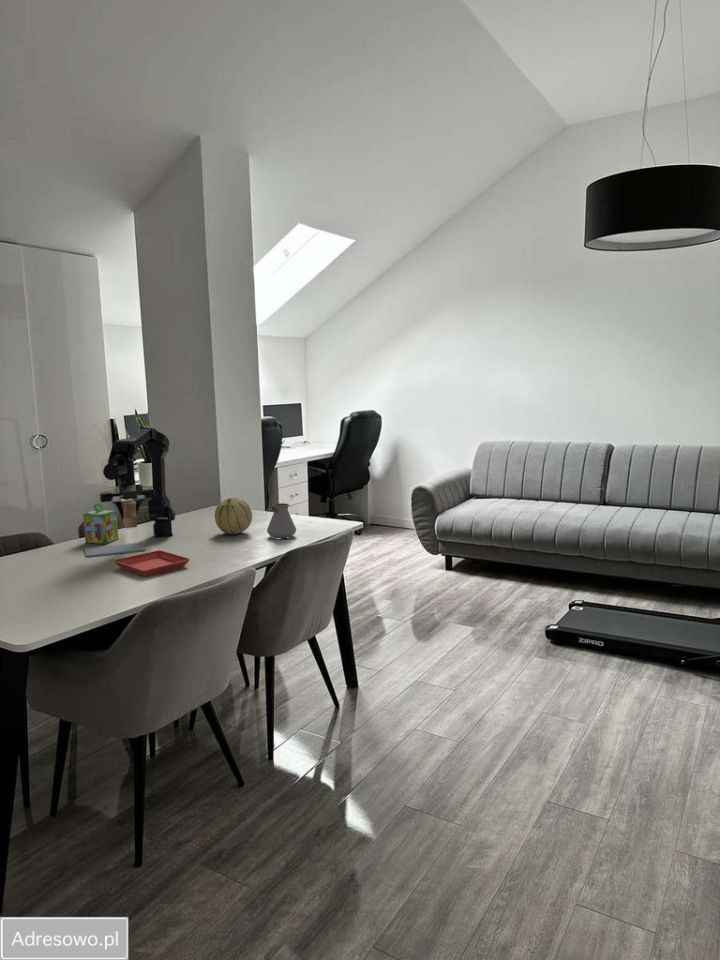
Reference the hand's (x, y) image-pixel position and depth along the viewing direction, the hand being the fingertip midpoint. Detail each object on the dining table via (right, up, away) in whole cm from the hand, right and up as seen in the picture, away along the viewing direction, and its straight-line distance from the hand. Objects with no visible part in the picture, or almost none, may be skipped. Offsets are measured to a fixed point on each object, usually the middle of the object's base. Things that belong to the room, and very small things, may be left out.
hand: (129, 518), depth 255 cm
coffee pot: (+52, -9, +18) cm, 56 cm away
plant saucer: (+14, -16, -20) cm, 29 cm away
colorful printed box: (-16, -10, +18) cm, 26 cm away
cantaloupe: (+33, -8, +29) cm, 44 cm away
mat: (-6, -12, +4) cm, 14 cm away
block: (0, -3, 0) cm, 3 cm away
